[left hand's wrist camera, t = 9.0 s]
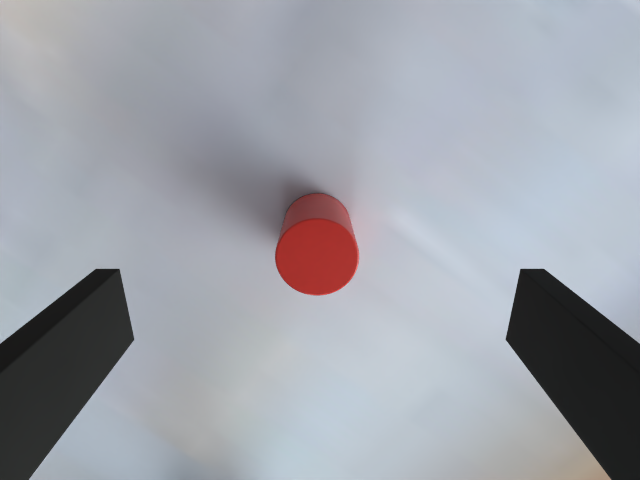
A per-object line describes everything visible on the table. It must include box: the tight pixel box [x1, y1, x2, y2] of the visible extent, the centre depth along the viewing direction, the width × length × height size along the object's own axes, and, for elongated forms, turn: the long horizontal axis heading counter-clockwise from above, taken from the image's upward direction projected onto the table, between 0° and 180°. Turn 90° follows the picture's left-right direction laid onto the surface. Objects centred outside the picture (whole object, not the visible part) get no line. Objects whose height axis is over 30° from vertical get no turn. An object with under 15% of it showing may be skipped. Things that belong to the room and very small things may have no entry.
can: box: [275, 193, 359, 295], centre depth 19 cm, size 4×4×5 cm
